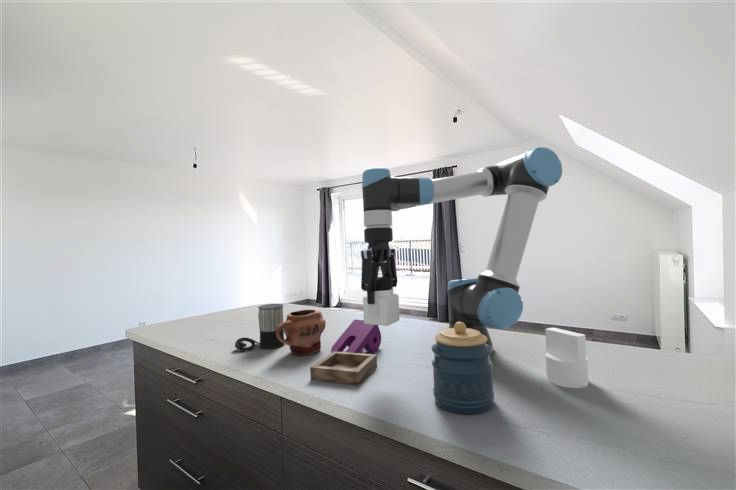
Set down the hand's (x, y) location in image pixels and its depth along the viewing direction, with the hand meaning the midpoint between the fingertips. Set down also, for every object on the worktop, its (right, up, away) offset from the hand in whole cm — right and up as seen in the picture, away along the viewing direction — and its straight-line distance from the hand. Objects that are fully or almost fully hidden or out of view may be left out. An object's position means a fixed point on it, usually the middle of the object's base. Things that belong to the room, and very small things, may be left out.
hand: (381, 313), depth 91 cm
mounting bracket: (-8, -18, +22) cm, 30 cm away
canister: (+18, -17, -15) cm, 29 cm away
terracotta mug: (-26, -19, +25) cm, 41 cm away
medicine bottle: (0, -2, 0) cm, 2 cm away
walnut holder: (-10, -18, +5) cm, 21 cm away
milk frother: (-43, -19, +34) cm, 58 cm away
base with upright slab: (+45, -15, -6) cm, 48 cm away
